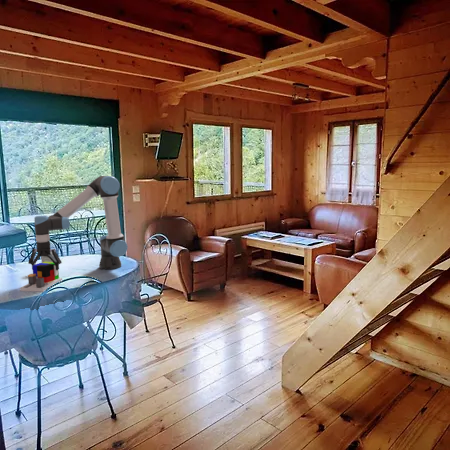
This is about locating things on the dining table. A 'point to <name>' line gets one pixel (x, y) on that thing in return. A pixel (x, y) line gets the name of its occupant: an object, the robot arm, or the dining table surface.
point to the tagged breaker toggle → (32, 278)
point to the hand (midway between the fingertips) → (46, 275)
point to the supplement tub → (46, 258)
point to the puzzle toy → (45, 271)
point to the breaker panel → (33, 287)
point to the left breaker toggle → (39, 282)
